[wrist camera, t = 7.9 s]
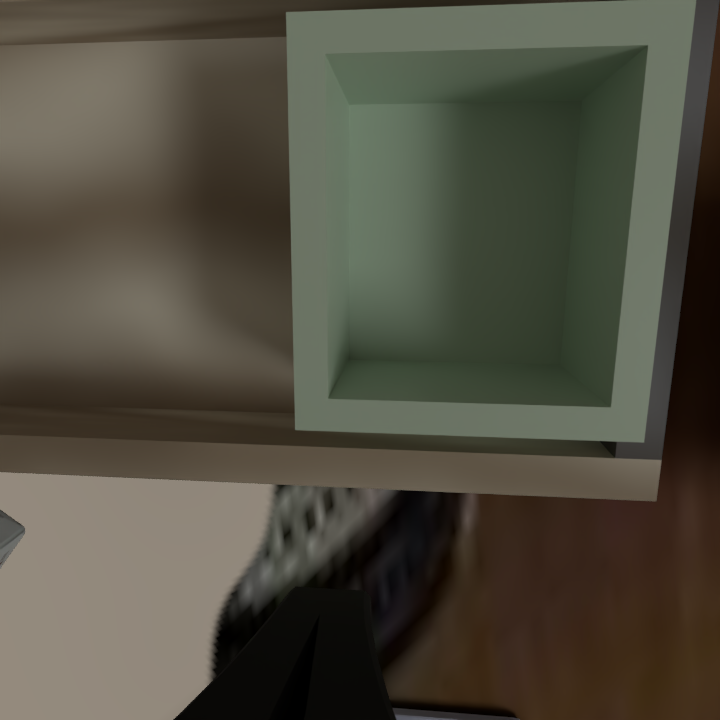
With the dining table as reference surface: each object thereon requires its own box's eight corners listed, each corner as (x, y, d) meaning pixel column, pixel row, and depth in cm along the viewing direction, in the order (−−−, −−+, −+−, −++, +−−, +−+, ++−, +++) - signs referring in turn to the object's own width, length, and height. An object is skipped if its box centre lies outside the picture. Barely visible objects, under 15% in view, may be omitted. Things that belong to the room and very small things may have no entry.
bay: (606, 448, 19) (656, 501, 15) (6, 426, 21) (-86, 467, 17) (653, -8, 16) (730, -87, 12) (-50, 17, 18) (-177, -44, 14)
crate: (577, 384, 18) (644, 442, 12) (327, 377, 18) (295, 429, 13) (605, 76, 16) (696, -2, 11) (325, 82, 16) (286, 11, 11)
